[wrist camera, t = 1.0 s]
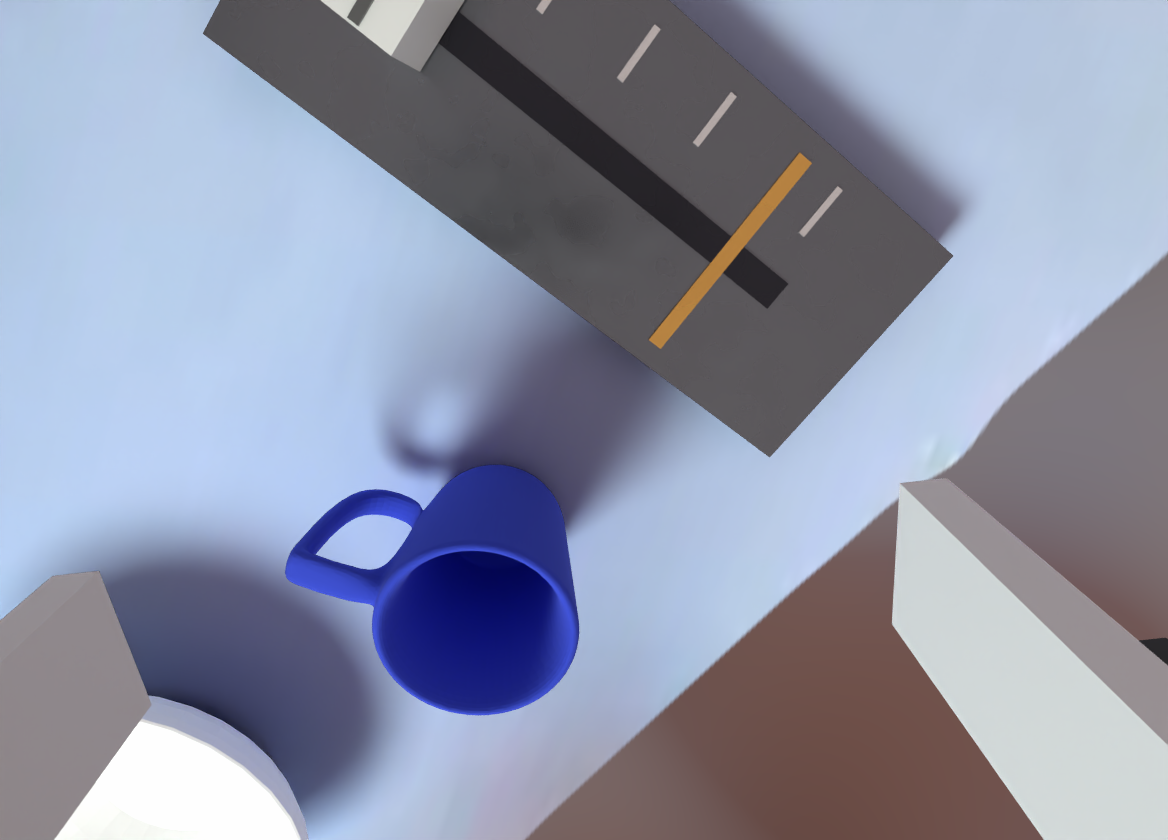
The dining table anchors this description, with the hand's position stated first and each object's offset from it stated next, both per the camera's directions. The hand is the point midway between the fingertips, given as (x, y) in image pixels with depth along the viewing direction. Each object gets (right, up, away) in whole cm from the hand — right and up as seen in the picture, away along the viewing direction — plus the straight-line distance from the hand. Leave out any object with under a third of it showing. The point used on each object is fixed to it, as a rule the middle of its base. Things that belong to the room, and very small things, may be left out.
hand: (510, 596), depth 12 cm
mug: (-5, -1, +26) cm, 27 cm away
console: (+2, +15, +20) cm, 25 cm away
